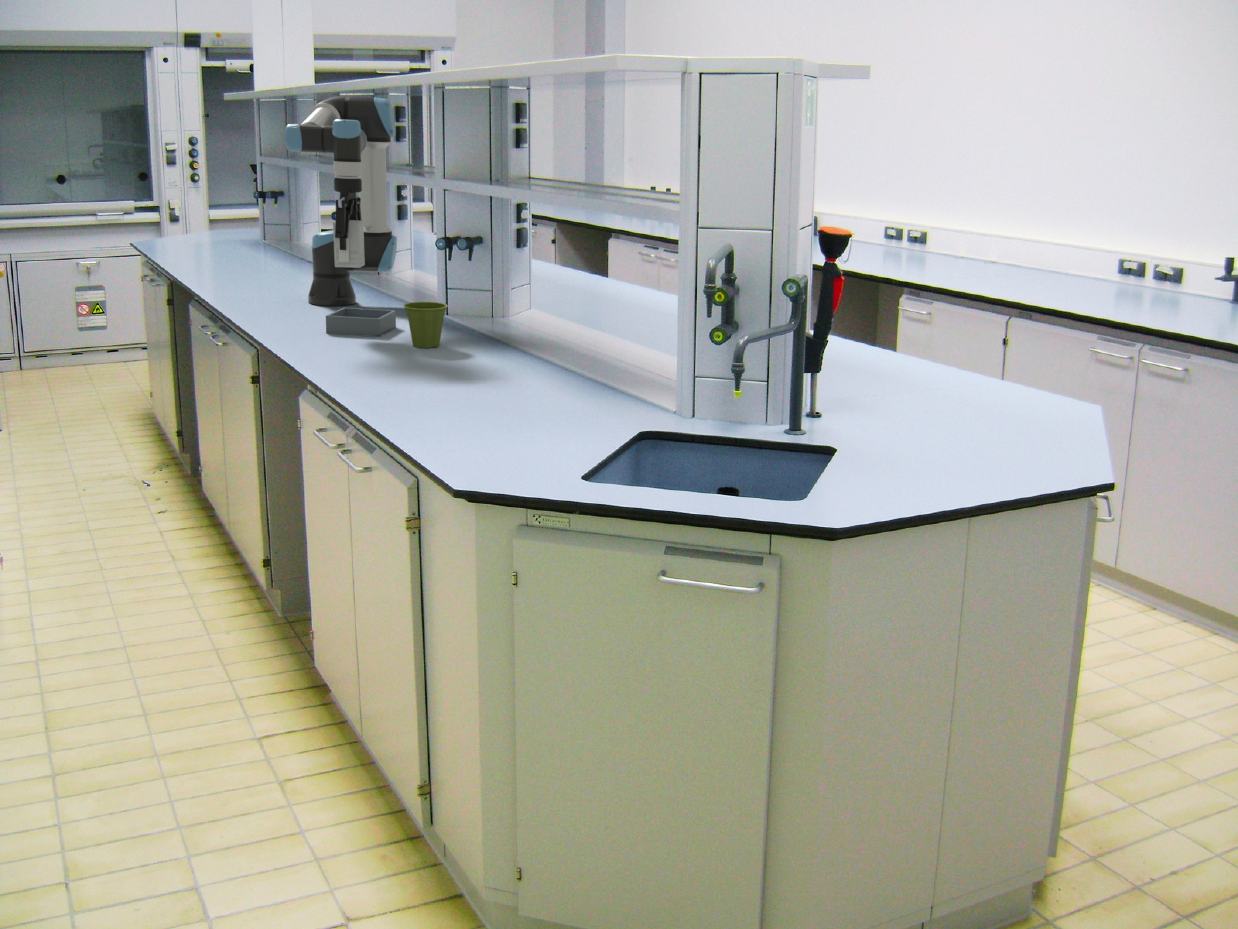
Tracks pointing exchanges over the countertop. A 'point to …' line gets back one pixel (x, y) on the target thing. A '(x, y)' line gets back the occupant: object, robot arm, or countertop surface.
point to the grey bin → (361, 322)
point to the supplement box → (352, 245)
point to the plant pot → (425, 322)
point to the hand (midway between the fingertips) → (349, 259)
